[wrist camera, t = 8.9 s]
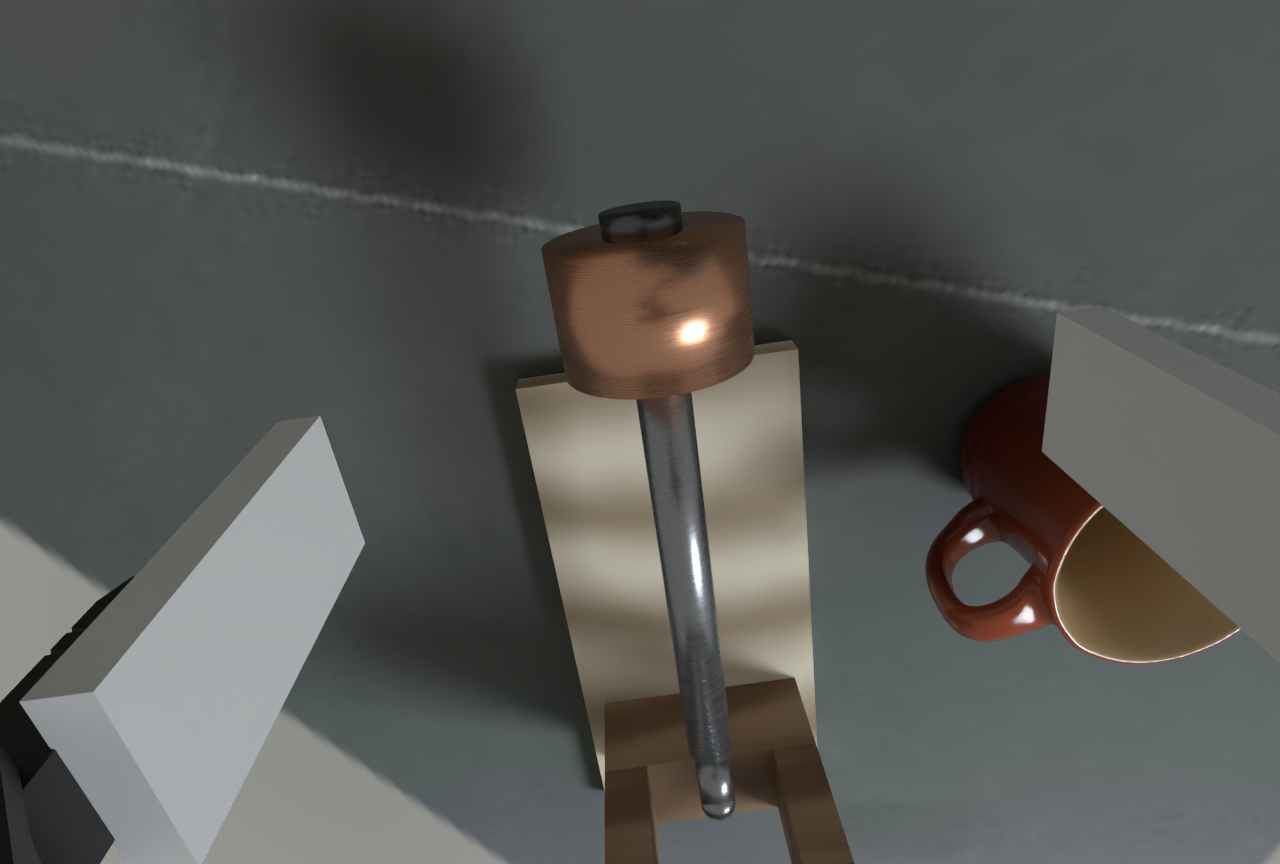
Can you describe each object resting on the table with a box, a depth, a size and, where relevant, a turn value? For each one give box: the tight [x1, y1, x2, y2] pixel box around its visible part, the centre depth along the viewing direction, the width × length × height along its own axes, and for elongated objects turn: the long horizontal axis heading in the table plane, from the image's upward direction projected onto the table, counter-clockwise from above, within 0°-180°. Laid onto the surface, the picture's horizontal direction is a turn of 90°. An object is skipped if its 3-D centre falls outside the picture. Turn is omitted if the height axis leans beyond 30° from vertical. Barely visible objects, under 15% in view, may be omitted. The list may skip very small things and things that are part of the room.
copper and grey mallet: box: [542, 201, 755, 821], centre depth 27 cm, size 24×6×6 cm, turn 8°
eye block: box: [605, 678, 854, 864], centre depth 34 cm, size 4×10×13 cm, turn 98°
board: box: [515, 340, 817, 791], centre depth 38 cm, size 26×12×1 cm, turn 8°
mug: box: [925, 375, 1241, 664], centre depth 31 cm, size 12×9×10 cm
